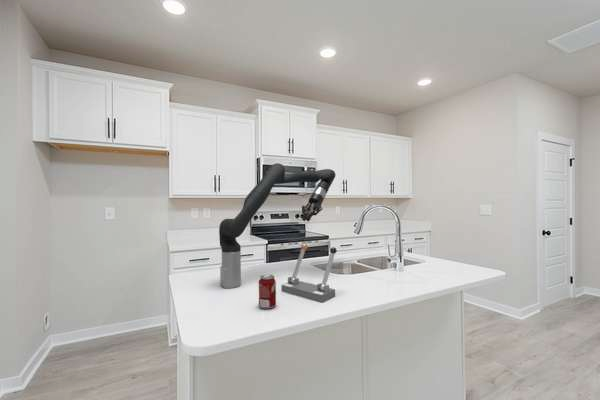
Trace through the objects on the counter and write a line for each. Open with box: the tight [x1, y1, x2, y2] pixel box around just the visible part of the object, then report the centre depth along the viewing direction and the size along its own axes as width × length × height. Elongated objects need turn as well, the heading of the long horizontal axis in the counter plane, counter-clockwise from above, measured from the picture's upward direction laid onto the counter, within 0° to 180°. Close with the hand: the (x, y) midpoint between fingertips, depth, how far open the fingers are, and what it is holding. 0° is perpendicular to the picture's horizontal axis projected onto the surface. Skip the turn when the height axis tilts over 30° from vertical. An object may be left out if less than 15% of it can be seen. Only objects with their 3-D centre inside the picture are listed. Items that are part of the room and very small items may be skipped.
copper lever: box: [290, 243, 308, 283], centre depth 136 cm, size 3×3×20 cm
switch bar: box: [281, 276, 336, 304], centre depth 127 cm, size 10×23×6 cm, turn 51°
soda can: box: [258, 274, 277, 310], centre depth 112 cm, size 7×7×12 cm
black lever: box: [319, 246, 338, 291], centre depth 125 cm, size 3×3×20 cm
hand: (305, 220), depth 151 cm, fingers closed
